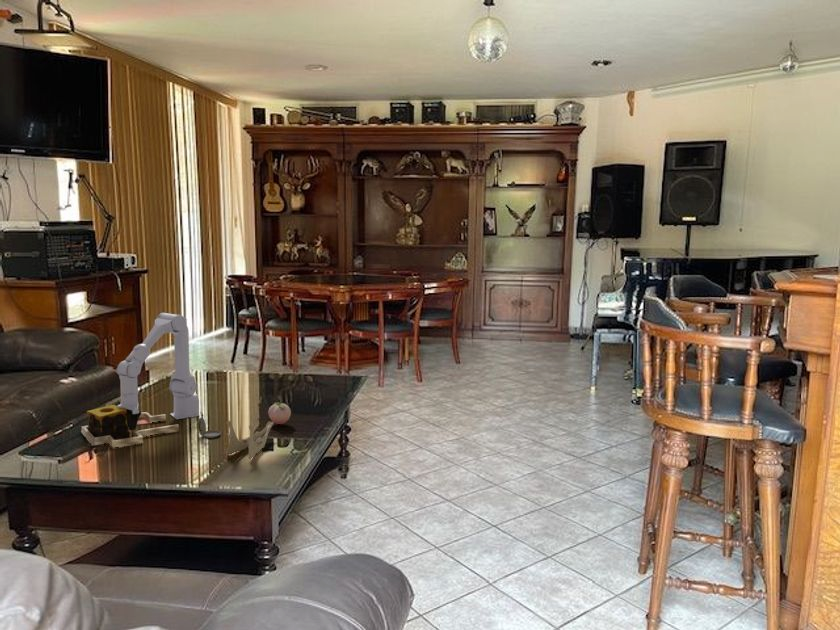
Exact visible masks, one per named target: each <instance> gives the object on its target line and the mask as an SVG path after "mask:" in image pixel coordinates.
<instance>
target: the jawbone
mask: <svg viewBox="0 0 840 630" xmlns="http://www.w3.org/2000/svg"><path fill="white" fill-rule="evenodd" d="M274 424H275V423H274V422H273V421H272V420H270V421H267V423H266V425H265V427H264V428H263V429H262V430H261V431H256V432H254V427H253V425H252V424H249V426H248V429H249V430H250V432H251V433H250V436H248V437H245V438H241V439H239V438H238V437H237V435H236V432H235V429H234V426H233V425H232V422H231V420H228V421H226V426H228V429H229V433H226V435H227V436H228V440H229V441H228V444H227V445H228V446H227V449H226V452H225V455H226V457H227V455H229V454H232V453H234V452H237V451H241V450H243V449H245V448H247V447H248V448H247V449H248V456H247V457H248V460H250V459H251V458H252V457H254V456H255V457H256V455H255V454H256V453H258V452H259V451H260V450H261V449H262V448H263V449H264V448H265V445H266V442H267V440H268V435H269V433H270V430H271V428H272V427H273V426H274ZM260 437H261V438H260ZM263 449H262V450H263ZM245 450H246V449H245ZM262 450H261V451H262ZM261 451H260V452H261ZM241 452H242V451H241ZM260 452H259V453H260ZM259 453H258V454H259ZM255 457H254V458H255Z"/></svg>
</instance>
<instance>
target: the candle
mask: <svg viewBox="0 0 840 630" xmlns="http://www.w3.org/2000/svg"><path fill="white" fill-rule="evenodd" d="M125 413H127V411H126V409H123V408H118V405H115V404H110V405H106V406H101V407H98V408H94V409H91V410H87V411H86V415H87V426H88V431H89V432H90V433H91V434H92V435H93V436H94V438H95V437H102V436H108V435H110V436H111V437H112V438H113V439H114V440H118V439H119V438H120V439H121V438H123V437H126V436H128V434H129V433H128V431H129V427H128V425H127V417H126V415H125Z"/></svg>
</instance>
